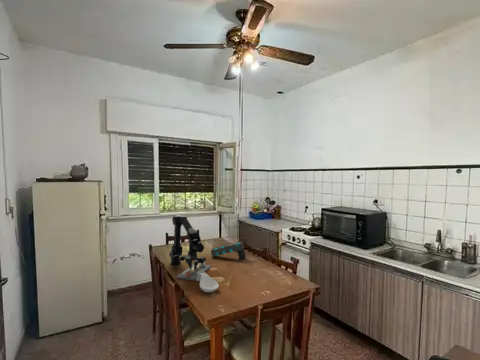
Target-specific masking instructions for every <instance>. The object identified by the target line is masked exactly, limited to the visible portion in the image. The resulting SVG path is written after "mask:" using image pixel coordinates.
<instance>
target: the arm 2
mask: <svg viewBox="0 0 480 360" xmlns="http://www.w3.org/2000/svg"><path fill="white" fill-rule="evenodd" d="M200 267H202V263H200V264H199V265H197V268H196V270H195V271H197V270H198V269H199V268H200ZM195 271H194V268H193V269H192V270H191V271H189V272H188V273H187V277H189V276H190V275H191V274H193V273H194V272H195Z"/></svg>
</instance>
